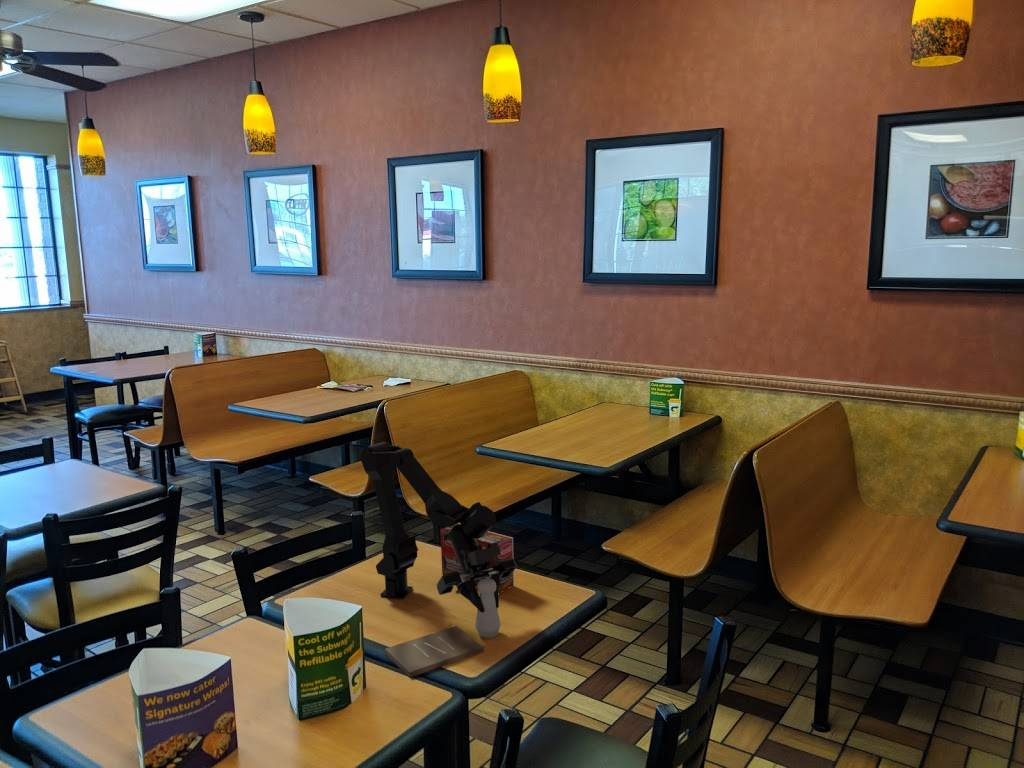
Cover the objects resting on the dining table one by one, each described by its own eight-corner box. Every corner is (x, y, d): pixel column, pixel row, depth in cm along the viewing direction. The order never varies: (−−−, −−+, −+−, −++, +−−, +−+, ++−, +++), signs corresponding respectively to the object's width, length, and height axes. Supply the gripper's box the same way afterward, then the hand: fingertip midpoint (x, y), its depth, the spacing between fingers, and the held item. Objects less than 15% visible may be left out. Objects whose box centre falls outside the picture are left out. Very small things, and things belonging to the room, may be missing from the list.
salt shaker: (497, 641, 176) (496, 587, 174) (473, 639, 177) (471, 585, 175) (503, 629, 181) (501, 576, 179) (479, 627, 183) (477, 575, 180)
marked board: (456, 630, 181) (456, 625, 181) (483, 651, 172) (483, 646, 171) (385, 653, 172) (384, 648, 171) (409, 677, 162) (409, 671, 162)
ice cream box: (514, 586, 205) (512, 537, 202) (498, 594, 200) (497, 545, 198) (458, 568, 217) (456, 522, 215) (442, 575, 212) (440, 529, 210)
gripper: (440, 541, 174) (464, 606, 166) (512, 524, 183) (538, 585, 176) (426, 562, 182) (449, 625, 174) (496, 546, 191) (520, 605, 184)
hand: (490, 609), depth 177 cm, fingers closed on salt shaker, 3 cm apart
